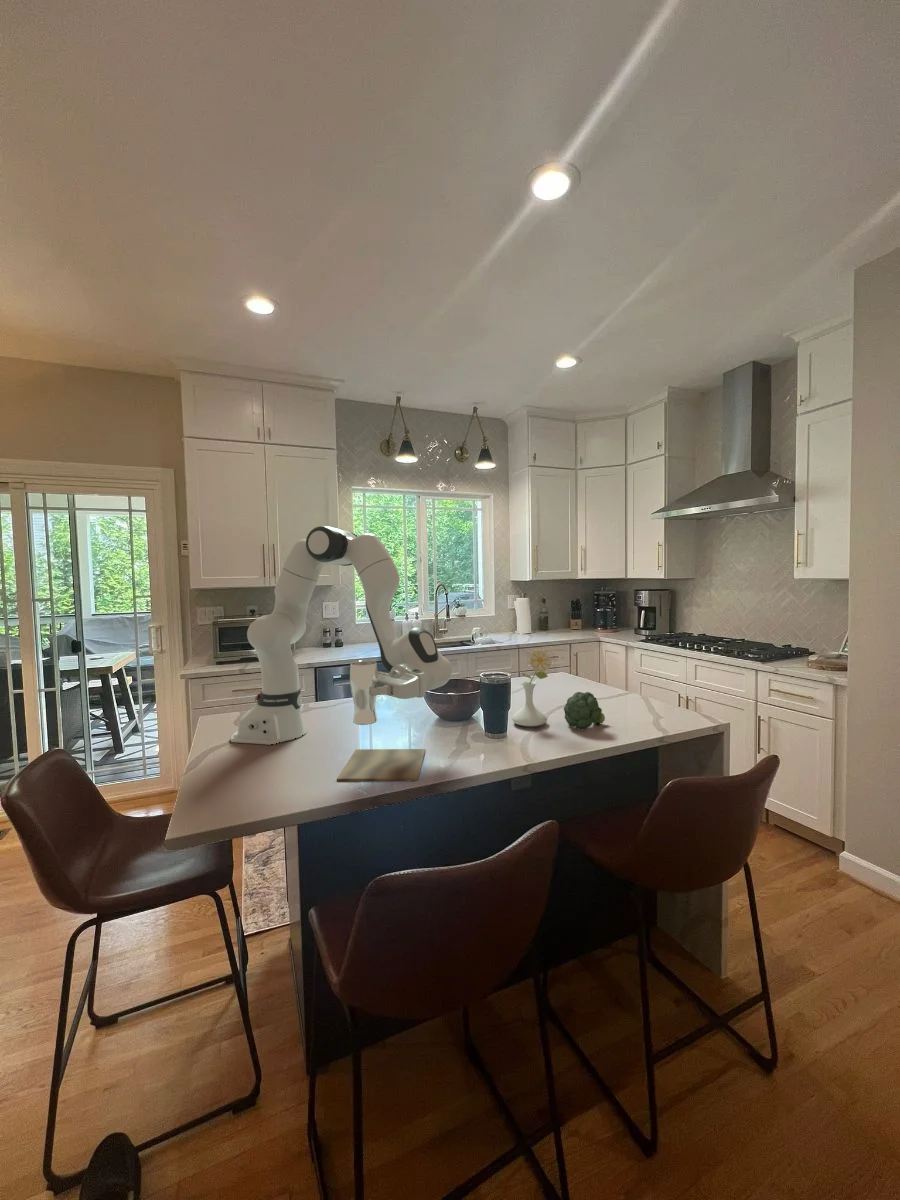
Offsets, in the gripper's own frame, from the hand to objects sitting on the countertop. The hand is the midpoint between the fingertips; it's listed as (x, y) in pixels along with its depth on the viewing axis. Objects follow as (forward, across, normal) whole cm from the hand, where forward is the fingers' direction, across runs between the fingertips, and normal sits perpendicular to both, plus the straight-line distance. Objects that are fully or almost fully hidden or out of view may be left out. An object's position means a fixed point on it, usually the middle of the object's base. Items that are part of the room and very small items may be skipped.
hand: (361, 689), depth 124 cm
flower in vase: (-61, +9, +22) cm, 65 cm away
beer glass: (-1, 0, +8) cm, 9 cm away
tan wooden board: (-7, -1, +22) cm, 23 cm away
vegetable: (-69, +23, +22) cm, 76 cm away
